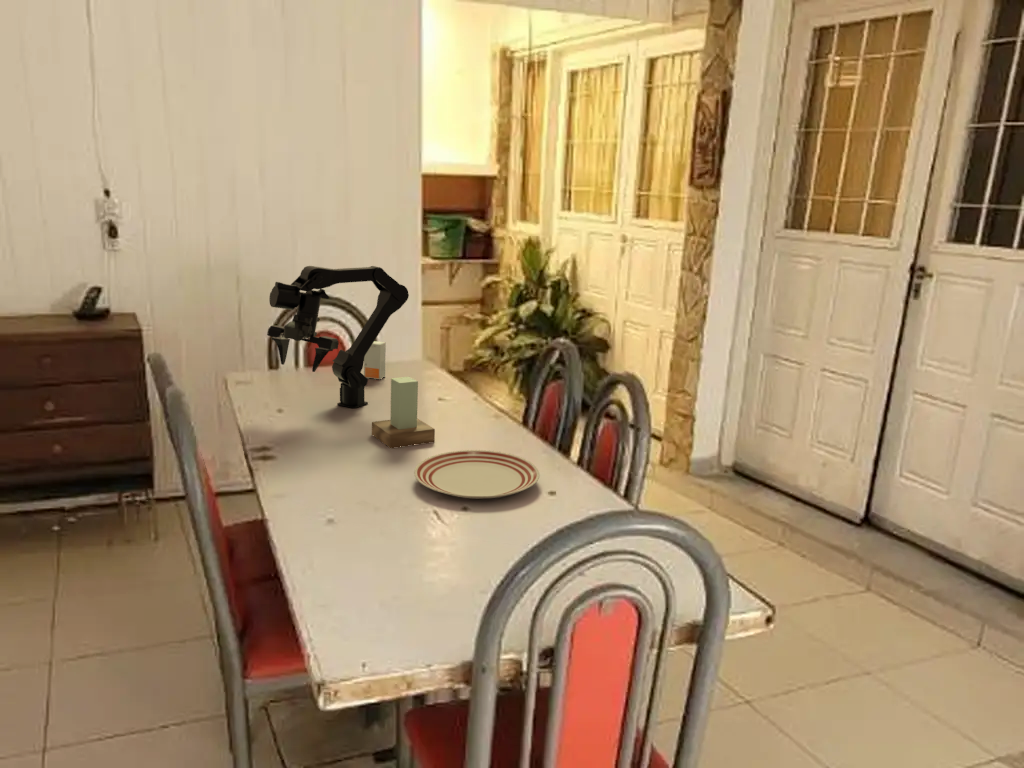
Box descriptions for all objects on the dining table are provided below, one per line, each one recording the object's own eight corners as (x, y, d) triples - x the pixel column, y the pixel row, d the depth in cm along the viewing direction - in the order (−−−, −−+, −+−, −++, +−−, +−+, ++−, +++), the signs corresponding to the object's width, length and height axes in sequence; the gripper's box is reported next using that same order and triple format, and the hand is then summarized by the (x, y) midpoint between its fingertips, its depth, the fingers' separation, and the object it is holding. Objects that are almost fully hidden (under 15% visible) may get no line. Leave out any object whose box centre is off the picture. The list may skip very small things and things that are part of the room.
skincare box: (363, 378, 269) (363, 342, 266) (369, 375, 273) (369, 340, 270) (380, 380, 267) (380, 344, 264) (386, 377, 271) (386, 342, 268)
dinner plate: (526, 514, 165) (527, 499, 164) (396, 499, 170) (397, 484, 169) (548, 470, 191) (548, 456, 190) (435, 458, 196) (435, 444, 195)
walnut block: (371, 436, 211) (371, 422, 210) (414, 431, 217) (414, 416, 216) (390, 450, 201) (390, 434, 200) (434, 444, 207) (434, 428, 206)
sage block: (408, 421, 211) (409, 376, 208) (416, 427, 207) (418, 381, 204) (390, 423, 208) (391, 378, 205) (398, 429, 204) (399, 383, 201)
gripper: (262, 305, 217) (252, 362, 219) (327, 319, 214) (317, 377, 216) (281, 305, 228) (272, 360, 230) (343, 319, 225) (333, 374, 227)
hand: (298, 368), depth 225 cm, fingers open, 9 cm apart
